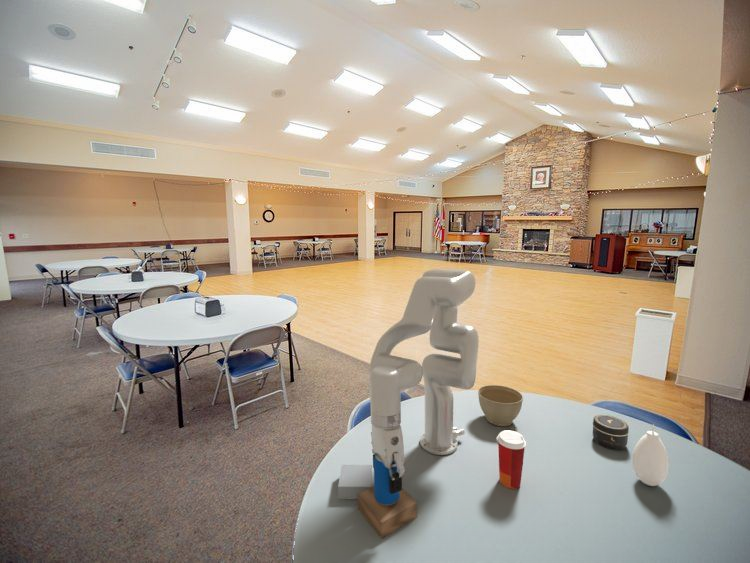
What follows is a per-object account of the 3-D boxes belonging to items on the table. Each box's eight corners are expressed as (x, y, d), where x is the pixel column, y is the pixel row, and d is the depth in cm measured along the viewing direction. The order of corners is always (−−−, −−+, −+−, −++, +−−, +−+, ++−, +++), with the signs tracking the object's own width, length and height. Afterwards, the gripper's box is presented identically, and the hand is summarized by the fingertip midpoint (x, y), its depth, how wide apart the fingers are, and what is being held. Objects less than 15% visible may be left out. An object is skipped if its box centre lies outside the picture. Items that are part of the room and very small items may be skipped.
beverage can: (397, 509, 84) (397, 464, 82) (372, 505, 85) (371, 461, 84) (401, 490, 90) (400, 448, 89) (377, 487, 91) (376, 445, 90)
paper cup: (523, 476, 101) (525, 431, 99) (525, 494, 93) (527, 446, 92) (495, 470, 103) (496, 427, 101) (495, 488, 96) (496, 441, 94)
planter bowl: (529, 431, 124) (530, 403, 122) (484, 432, 124) (485, 403, 122) (512, 409, 139) (513, 384, 138) (472, 410, 140) (473, 384, 138)
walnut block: (391, 490, 96) (391, 477, 95) (417, 516, 87) (417, 502, 86) (357, 508, 90) (357, 494, 89) (381, 538, 80) (381, 522, 80)
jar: (595, 447, 114) (596, 426, 113) (589, 432, 123) (590, 412, 122) (631, 454, 110) (633, 432, 109) (622, 437, 119) (623, 417, 118)
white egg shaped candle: (657, 497, 92) (663, 434, 89) (625, 479, 99) (630, 421, 96) (671, 487, 95) (677, 426, 93) (639, 470, 102) (644, 414, 100)
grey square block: (372, 477, 102) (372, 464, 101) (371, 500, 93) (370, 486, 92) (342, 477, 102) (341, 464, 101) (338, 499, 93) (337, 486, 93)
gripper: (416, 429, 78) (417, 497, 81) (384, 398, 94) (385, 455, 96) (387, 438, 76) (388, 508, 78) (359, 404, 91) (360, 462, 93)
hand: (386, 478), depth 87 cm, fingers open, 9 cm apart
